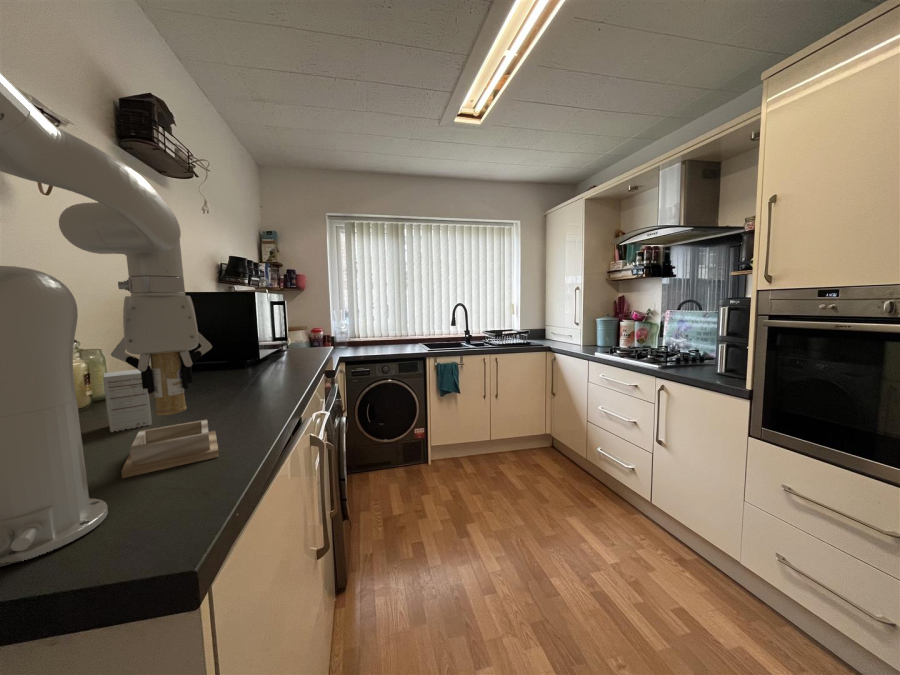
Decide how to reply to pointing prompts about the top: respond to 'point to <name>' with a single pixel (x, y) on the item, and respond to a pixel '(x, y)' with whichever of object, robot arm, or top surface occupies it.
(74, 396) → the robot arm
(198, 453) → the socket board
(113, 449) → the top surface
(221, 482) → the top surface
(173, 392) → the sprinkles bottle
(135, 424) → the supplement box
